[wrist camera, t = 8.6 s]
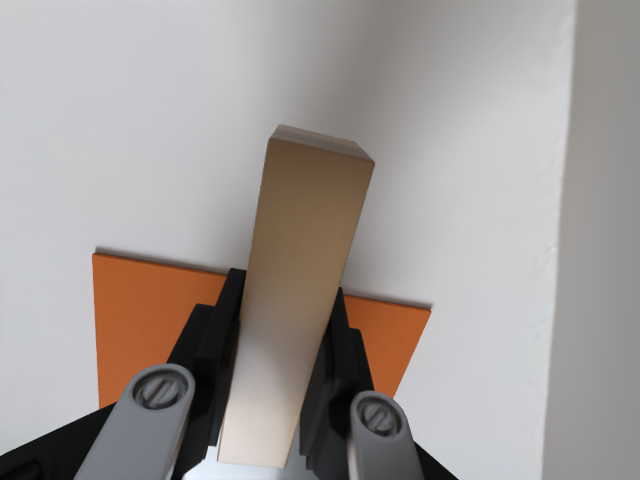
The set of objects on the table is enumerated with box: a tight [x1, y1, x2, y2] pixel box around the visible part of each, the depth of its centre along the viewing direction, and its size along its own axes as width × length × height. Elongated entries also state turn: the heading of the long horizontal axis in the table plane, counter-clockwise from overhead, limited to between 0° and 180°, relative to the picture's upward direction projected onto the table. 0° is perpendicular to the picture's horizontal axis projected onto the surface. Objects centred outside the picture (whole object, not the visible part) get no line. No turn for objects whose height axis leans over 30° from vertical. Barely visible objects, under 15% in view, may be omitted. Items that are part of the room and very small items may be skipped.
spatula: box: [185, 124, 375, 480], centre depth 11 cm, size 16×7×3 cm, turn 167°
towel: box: [92, 253, 431, 409], centre depth 20 cm, size 22×16×1 cm
